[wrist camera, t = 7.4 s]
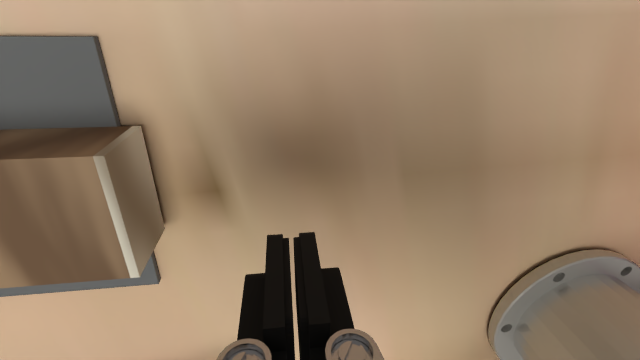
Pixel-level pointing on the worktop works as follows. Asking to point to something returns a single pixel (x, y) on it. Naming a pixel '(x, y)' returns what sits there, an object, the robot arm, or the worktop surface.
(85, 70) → the mat
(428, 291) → the worktop surface
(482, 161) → the worktop surface
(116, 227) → the walnut block
